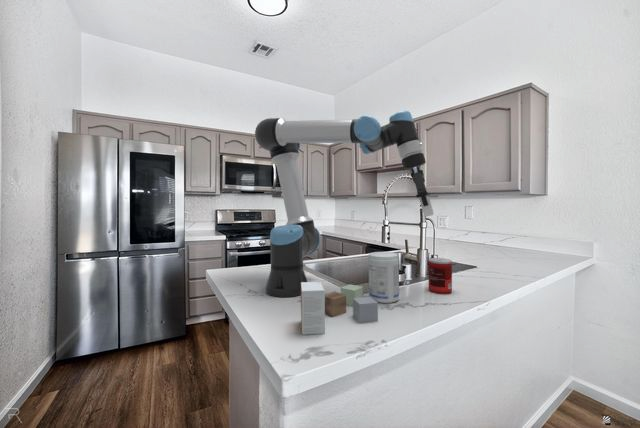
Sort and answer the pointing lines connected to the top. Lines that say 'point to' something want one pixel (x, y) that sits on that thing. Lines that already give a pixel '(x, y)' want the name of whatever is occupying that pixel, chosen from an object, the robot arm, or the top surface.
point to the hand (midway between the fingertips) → (429, 214)
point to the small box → (312, 308)
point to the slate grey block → (365, 309)
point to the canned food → (440, 275)
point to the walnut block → (335, 304)
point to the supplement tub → (383, 277)
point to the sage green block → (352, 293)
